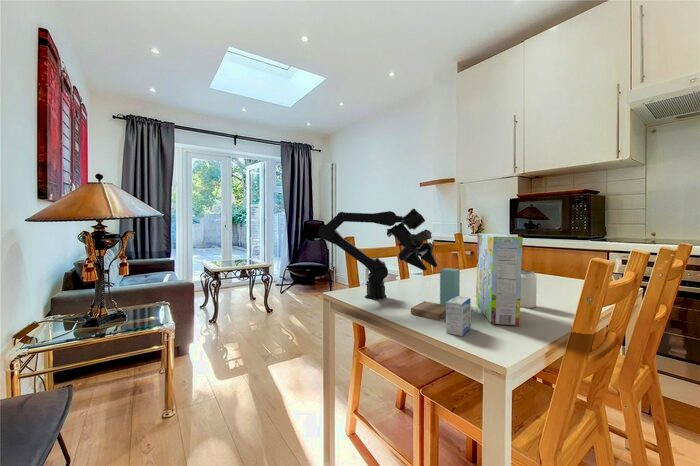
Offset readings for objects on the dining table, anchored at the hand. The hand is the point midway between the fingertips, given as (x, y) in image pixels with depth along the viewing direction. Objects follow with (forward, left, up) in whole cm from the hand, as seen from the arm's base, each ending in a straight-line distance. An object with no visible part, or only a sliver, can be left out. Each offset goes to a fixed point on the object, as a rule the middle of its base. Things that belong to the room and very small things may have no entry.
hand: (431, 268), depth 109 cm
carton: (+7, 0, -13) cm, 14 cm away
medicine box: (+17, -21, -13) cm, 30 cm away
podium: (+5, -11, -13) cm, 18 cm away
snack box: (+22, 0, -13) cm, 25 cm away
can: (+28, +16, -13) cm, 35 cm away
